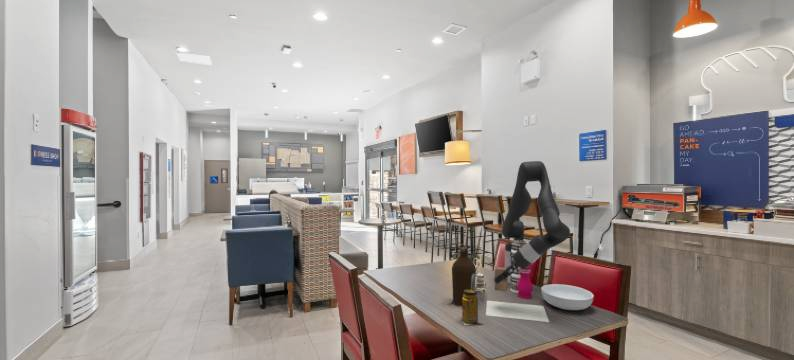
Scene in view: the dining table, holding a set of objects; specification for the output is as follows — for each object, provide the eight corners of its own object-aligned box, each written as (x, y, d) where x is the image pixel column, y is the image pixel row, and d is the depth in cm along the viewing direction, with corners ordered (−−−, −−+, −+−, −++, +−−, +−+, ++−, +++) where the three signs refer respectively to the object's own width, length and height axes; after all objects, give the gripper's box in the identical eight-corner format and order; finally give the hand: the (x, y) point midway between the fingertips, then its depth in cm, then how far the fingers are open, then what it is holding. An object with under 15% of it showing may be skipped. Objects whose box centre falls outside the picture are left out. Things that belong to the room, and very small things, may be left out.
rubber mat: (487, 301, 165) (487, 300, 165) (543, 306, 159) (543, 306, 159) (485, 316, 148) (485, 315, 148) (549, 322, 141) (549, 321, 141)
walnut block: (496, 287, 159) (496, 266, 159) (507, 288, 157) (507, 268, 156) (494, 289, 155) (494, 269, 155) (505, 291, 153) (506, 270, 153)
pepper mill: (515, 298, 170) (515, 255, 169) (517, 293, 176) (518, 252, 176) (531, 300, 166) (532, 257, 166) (533, 296, 173) (534, 254, 172)
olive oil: (449, 306, 159) (450, 249, 158) (453, 298, 169) (454, 245, 168) (474, 309, 155) (475, 251, 155) (476, 301, 165) (477, 246, 165)
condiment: (459, 318, 145) (459, 288, 145) (479, 317, 146) (480, 288, 146) (464, 325, 138) (464, 294, 138) (485, 325, 139) (486, 293, 139)
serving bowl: (552, 315, 149) (552, 298, 149) (534, 298, 170) (534, 283, 170) (603, 316, 149) (603, 299, 149) (579, 299, 170) (579, 284, 170)
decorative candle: (507, 287, 186) (507, 238, 186) (525, 287, 186) (526, 239, 185) (512, 293, 177) (512, 242, 177) (531, 293, 177) (531, 242, 176)
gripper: (522, 245, 159) (493, 269, 164) (517, 251, 146) (487, 277, 151) (534, 258, 156) (505, 282, 162) (531, 266, 144) (500, 292, 149)
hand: (496, 280), depth 157 cm, fingers closed on walnut block, 4 cm apart
